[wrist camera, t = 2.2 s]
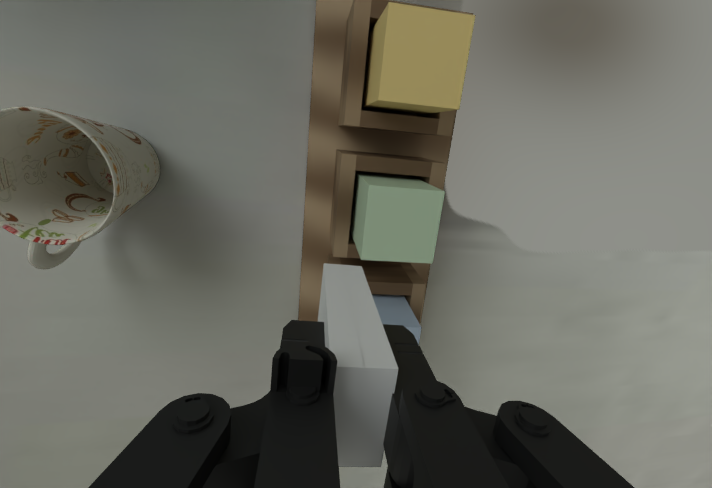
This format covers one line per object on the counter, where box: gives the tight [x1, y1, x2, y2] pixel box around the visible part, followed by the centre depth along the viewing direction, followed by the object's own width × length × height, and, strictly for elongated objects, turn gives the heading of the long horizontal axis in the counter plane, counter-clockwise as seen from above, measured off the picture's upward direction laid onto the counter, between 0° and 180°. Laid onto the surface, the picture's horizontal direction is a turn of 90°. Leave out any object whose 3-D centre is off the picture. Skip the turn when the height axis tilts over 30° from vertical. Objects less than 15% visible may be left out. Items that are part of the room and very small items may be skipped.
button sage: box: [350, 172, 445, 264], centre depth 27 cm, size 5×5×7 cm
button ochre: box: [363, 2, 475, 114], centre depth 24 cm, size 5×5×7 cm
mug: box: [0, 107, 160, 269], centre depth 27 cm, size 8×13×10 cm, turn 153°
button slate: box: [372, 294, 421, 345], centre depth 30 cm, size 5×5×7 cm
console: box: [298, 0, 473, 324], centre depth 31 cm, size 32×13×7 cm, turn 174°
